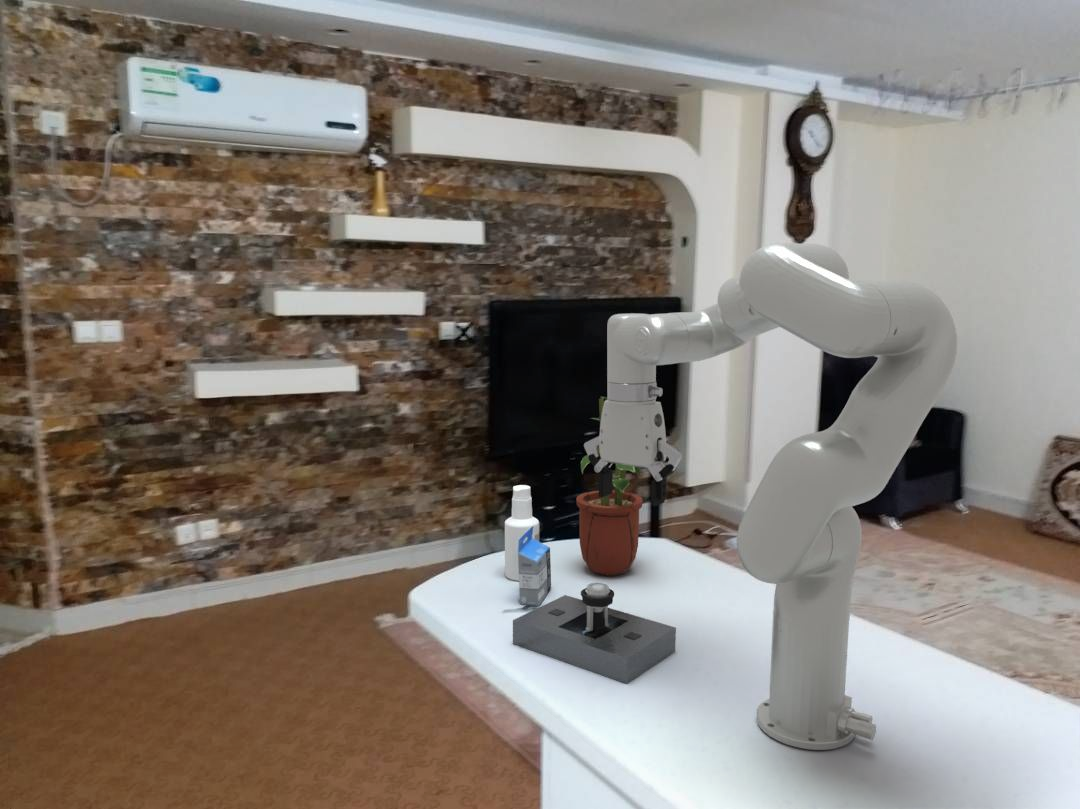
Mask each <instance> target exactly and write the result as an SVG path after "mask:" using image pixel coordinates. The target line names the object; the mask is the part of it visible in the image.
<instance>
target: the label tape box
mask: <svg viewBox="0 0 1080 809" xmlns="http://www.w3.org/2000/svg"><path fill="white" fill-rule="evenodd" d="M533 527H534V526H532V527H531V528H530V529H529V530H528V531H527V532H526V533H525V534H524V535H523V536H522V537H521V538H520V539H519V541H518V568H519V581H518V587H519V588H518V589H519V604H520V605H526V606H536V607H537V606H540V605H541V603H542V602H543V601H544V599H545V598H546V596H547V595H548V594H549V592H550V590H551V589H552V573H551V572H552V569H551V567H552V566H551V565H552V564H551V547H550V546H548V545H546V544H544V543H542V542H541V541H540V540H539V541H537V540H535V539H533V538H532V533H533ZM525 537H526V538H527V540H526V541H525V542H524V543H523V541H524V540H525Z"/></svg>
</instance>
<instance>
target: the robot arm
mask: <svg viewBox="0 0 1080 809" xmlns="http://www.w3.org/2000/svg"><path fill="white" fill-rule="evenodd" d="M849 277H850V276H849V269H848V266H847V264H846V261H845V260H844V259H843V257H842V256H841V255H840V254H839V253H838V252H837V251H836V250H834V249H832V247H831V248H830V247H828V246H826V245H823V244H818V243H817V244H816V243H787V242H786V243H785V242H784V243H782V242H781V243H779V242H777V243H772V244H771V243H770V244H769V245H768V244H767V245H764V246H762V247H760V248H758V249H756V250H755V251H754V252H753V253H751V255H750V256H749V257H748V258H747V259H746V261H745V262H744V264H743V266H742V268H741V271H740V273H739V274H737V275H734V276H733V277H730V278H728V279H727V280H725V281H724V282H723V283H722V284H721V287H720V288H719V290H718V294H717V303H715V304H713V305H711V306H708V307H706V308H703V309H700V310H697V311H692V312H691V311H685V312H684V311H683V312H668V313H654V314H653V313H652V314H649V313H633V312H631V313H617V314H616V313H615V314H613V315H611V316H610V317H609V318H608V320H607V325H606V326H607V328H606V329H607V334H606V336H607V337H606V338H607V339H606V340H607V341H606V342H607V344H606V346H607V347H606V348H607V349H606V350H607V354H606V355H607V358H606V359H607V360H606V361H607V363H606V364H607V366H606V367H607V368H606V370H607V372H606V373H607V374H606V376H607V380H606V381H607V383H606V384H607V397H606V398H608V399H607V400H606V399H605V400H604V405H603V410H602V416H601V424H600V423H599V435H598V436H596V437H594V438H592V439H590V440H588V441H586V442H584V444H583V447H584V451H585V452H586V454H587V455H588V456H589V457H588V459H589V461H590V462H589V463H591V465H592V466H593V468H594V469H593V470H594V472H595V473H597V489H598V490H597V491H599V497H605V496H608V495H610V494H612V492H613V491H614V490H613V489H614V488H613V486H614V485H613V480H614V478H613V477H614V476H613V470H612V469H610V468H611V467H612V465H614V464H615V465H616V464H621V465H629V466H636V467H638V468H647V469H648V471H649V473H650V475H652V478H653V479H654V480H652V481H651V483H650V485H651V486H650V504H651V506H652V507H657V506H661V505H662V504H664V503H665V500H666V499H667V479H668V478H670V477H671V475H672V474H673V473H674V472H675V471H676V470H677V468H678V465H679V464H680V462H681V460H682V458H683V454H682V453H681V451H679V450H677V449H676V448H674V447H673V446H672V445H670V444H669V443H667V434H666V425H665V417H664V412H663V407H662V403H661V401H656V400H657V397H662V396H663V390H664V389H663V388H662V387H658V386H657V385H658V384H657V383H658V382H657V379H656V378H657V376H656V375H657V366H665V365H673V364H679V363H680V364H683V363H691V362H692V363H693V362H700V361H705V360H708V359H711V358H714V357H717V356H720V355H722V354H724V353H728V352H731V351H733V350H736V349H739V348H741V347H742V346H744V345H746V344H747V343H749V342H750V341H752V340H753V339H754V338H755V337H757V336H759V335H762V334H764V333H767V332H769V331H772V330H775V329H777V328H781V329H783V330H785V331H787V332H788V333H791V334H792V335H794V336H795V337H798V338H800V339H801V340H803V341H805V342H806V343H808V344H810V345H812V346H813V347H815V348H817V349H819V350H820V351H823V352H825V353H827V354H830V355H832V356H836V357H839V358H845V359H859V358H867V357H875V356H878V357H877V359H876V361H875V363H874V364H873V366H872V367H871V368H870V369H869V370H868V371H867V373H866V374H865V375H864V376H863V377H862V378H861V379H860V380H859V381H858V383H857V384H856V386H855V387H854V389H853V390H852V391H851V394H850V395H849V398H848V400H847V402H846V404H845V406H844V408H843V409H842V411H841V412H840V414H839V416H838V417H837V419H836V420H835V421H834V422H833V424H831V426H829V427H828V428H826V429H824V430H821V431H816V432H812V433H808V434H807V433H806V434H804V435H801V436H797V437H796V438H794V439H792V440H790V441H788V443H785V445H784V446H782V448H781V449H780V450H779V451H778V452H777V453H776V454H775V455H774V456H773V459H772V460H771V462H770V464H769V465H768V467H767V469H766V470H765V472H764V474H763V477H762V478H761V480H760V482H759V484H758V486H757V488H756V489H755V492H754V494H753V496H752V498H751V500H750V502H749V503H748V506H747V507H746V509H745V512H744V513H743V516H742V518H741V519H740V523H739V525H738V530H737V533H736V550H737V552H736V553H737V555H738V559H739V561H740V563H741V566H742V567H743V569H744V570H745V571H746V572H747V573H748V574H749V575H750V576H751V577H753V578H754V579H756V580H757V581H760V582H763V583H766V584H774V585H775V590H774V595H773V596H774V597H773V610H772V631H771V634H772V635H771V649H770V650H771V653H770V675H769V676H770V677H769V678H770V679H769V698H767V699H766V700H764V701H762V702H761V703H760V704H759V705H758V707H757V709H756V722H757V726H759V728H760V729H761V730H762V731H763V732H764V733H765V734H766V735H767V736H769V737H771V738H772V739H774V740H775V741H778V742H780V743H782V744H784V745H788V746H790V747H794V748H799V749H803V750H810V751H811V750H812V751H816V750H817V751H826V750H834V749H837V748H839V749H840V748H842V747H844V746H846V745H848V744H849V743H850V742H853V739H854V738H855V736H856V735H857V736H858V737H861V738H865V739H866V740H867V739H868V740H871V741H873V740H874V738H875V737H876V733H877V726H876V724H874V723H873V716H872V715H869V714H866V713H863V712H862V713H861V712H858V711H856V710H855V709H854V708H853V707H852V703H853V701H852V699H853V697H851V696H849V695H846V682H847V680H846V678H847V665H848V664H847V661H848V660H847V659H848V648H849V647H848V646H849V631H850V629H849V628H850V619H851V618H850V616H851V602H852V592H853V584H854V579H855V574H856V571H857V570H856V569H857V565H858V561H859V557H860V553H861V547H862V540H863V537H862V536H863V532H862V529H863V528H862V525H861V524H862V523H861V520H860V518H859V515H858V513H857V512H856V510H855V508H853V507H855V506H857V505H860V504H864V503H866V502H869V501H871V500H872V499H874V498H876V497H877V496H878V495H879V494H881V493H882V491H884V489H885V488H886V485H888V483H889V480H890V479H891V478H892V475H893V474H894V472H895V471H896V468H898V466H899V464H900V462H901V460H902V458H903V457H904V455H905V454H906V452H907V450H908V448H909V447H910V445H911V444H912V442H913V440H914V438H915V437H916V435H917V433H918V431H919V429H920V427H921V426H922V424H923V422H924V420H925V419H926V417H927V416H928V414H929V413H930V411H931V409H932V408H933V406H934V405H935V403H936V402H937V400H938V398H939V396H941V393H942V392H943V390H944V388H945V387H946V384H947V382H948V380H949V379H950V376H951V375H952V374H951V373H952V371H953V368H954V366H955V361H956V357H957V350H958V335H957V329H956V326H955V323H954V322H955V321H954V319H953V316H952V314H951V312H950V310H949V308H948V306H947V305H946V304H945V302H944V301H943V300H942V299H941V297H940V296H939V295H937V294H936V293H935V291H933V290H932V289H930V288H928V287H927V286H924V285H921V284H920V283H915V282H911V281H907V280H906V281H905V280H872V281H871V280H870V281H869V280H867V281H854V280H851V279H849ZM597 446H599V452H600V455H599V454H598V453H597V450H596V447H597ZM667 457H668V461H667V464H666V465H665V464H664V462H665V461H666V459H667Z"/></svg>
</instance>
